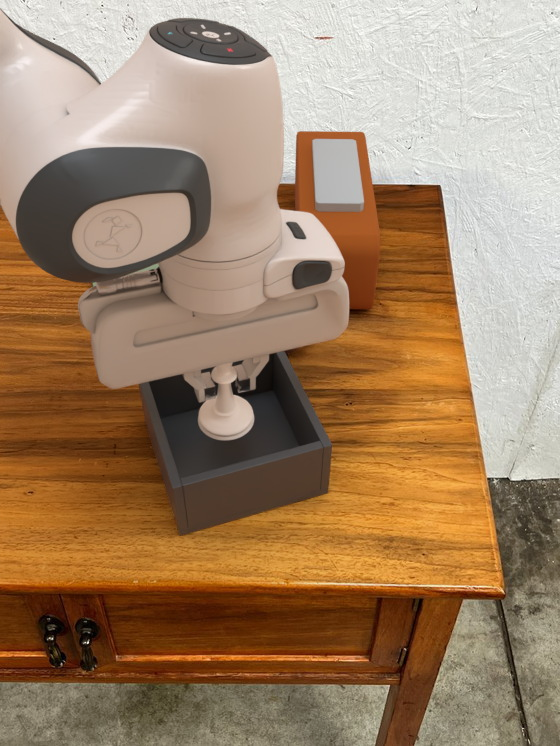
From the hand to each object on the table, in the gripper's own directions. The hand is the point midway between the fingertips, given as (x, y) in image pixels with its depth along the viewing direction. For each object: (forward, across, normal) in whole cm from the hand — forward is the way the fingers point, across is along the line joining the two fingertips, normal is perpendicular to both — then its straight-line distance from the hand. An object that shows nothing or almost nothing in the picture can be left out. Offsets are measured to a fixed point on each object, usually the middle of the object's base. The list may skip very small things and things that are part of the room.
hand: (225, 390), depth 65 cm
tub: (+9, 0, 0) cm, 9 cm away
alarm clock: (+9, +21, +26) cm, 35 cm away
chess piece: (+4, 0, 0) cm, 4 cm away
